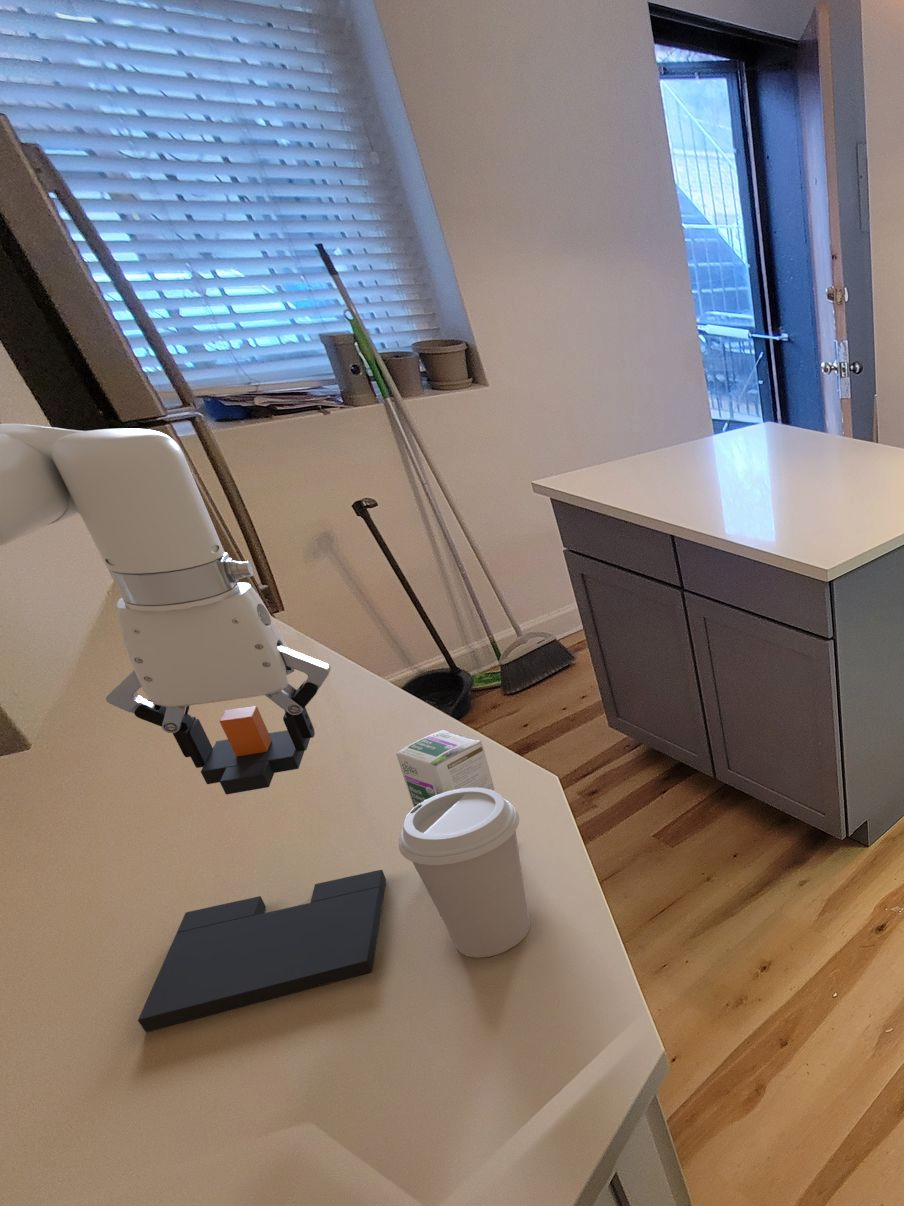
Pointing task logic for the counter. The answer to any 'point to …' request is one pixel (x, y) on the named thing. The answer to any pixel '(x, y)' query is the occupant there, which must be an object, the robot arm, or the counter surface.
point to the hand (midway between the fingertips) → (255, 751)
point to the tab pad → (249, 753)
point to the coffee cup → (470, 867)
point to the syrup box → (443, 765)
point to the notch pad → (266, 950)
